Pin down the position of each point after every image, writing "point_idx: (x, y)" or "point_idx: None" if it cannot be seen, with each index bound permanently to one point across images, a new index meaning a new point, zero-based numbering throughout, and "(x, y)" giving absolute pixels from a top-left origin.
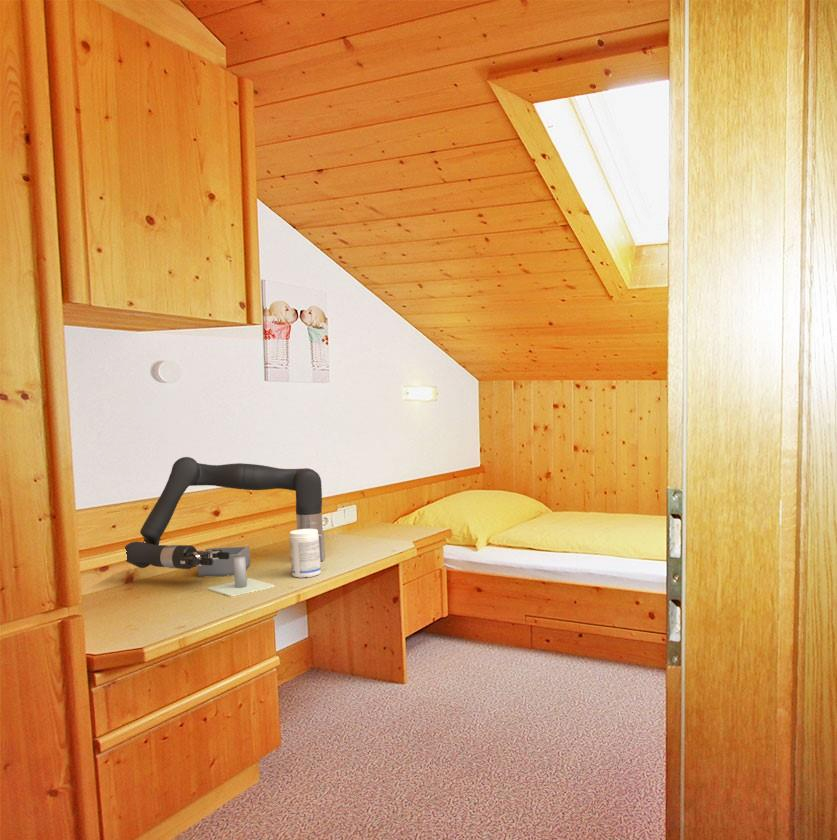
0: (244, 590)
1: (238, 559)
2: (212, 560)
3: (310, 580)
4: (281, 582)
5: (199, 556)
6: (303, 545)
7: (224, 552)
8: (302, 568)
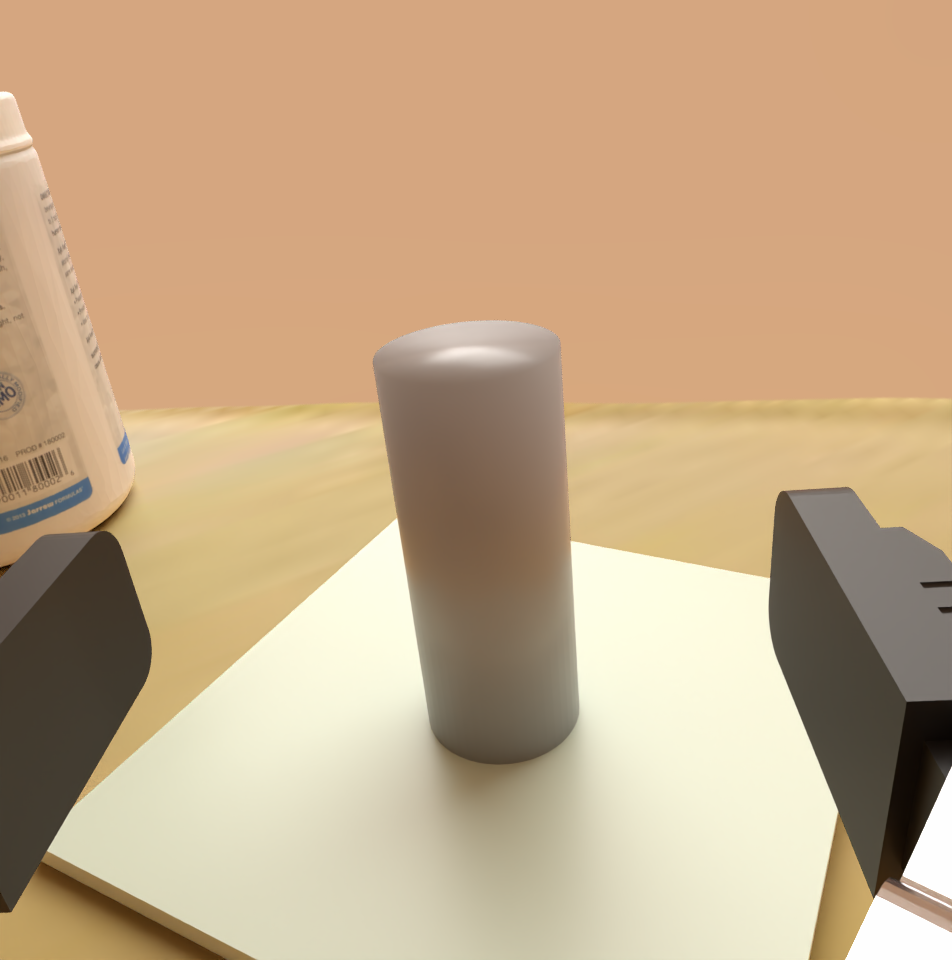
0: (652, 598)
1: (551, 335)
2: (783, 535)
3: (214, 450)
4: (254, 545)
5: (924, 890)
6: (54, 213)
7: (54, 579)
8: (118, 417)
